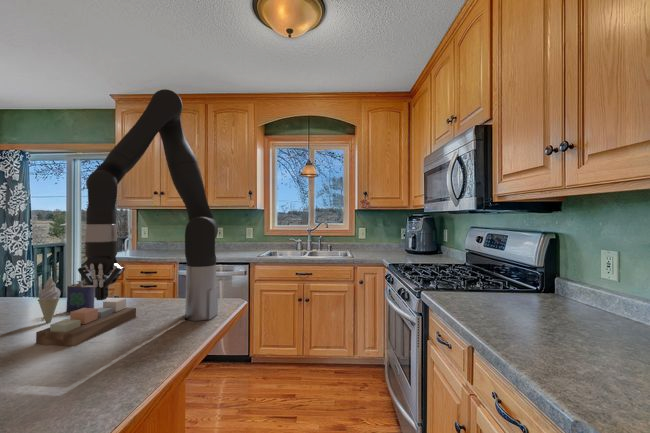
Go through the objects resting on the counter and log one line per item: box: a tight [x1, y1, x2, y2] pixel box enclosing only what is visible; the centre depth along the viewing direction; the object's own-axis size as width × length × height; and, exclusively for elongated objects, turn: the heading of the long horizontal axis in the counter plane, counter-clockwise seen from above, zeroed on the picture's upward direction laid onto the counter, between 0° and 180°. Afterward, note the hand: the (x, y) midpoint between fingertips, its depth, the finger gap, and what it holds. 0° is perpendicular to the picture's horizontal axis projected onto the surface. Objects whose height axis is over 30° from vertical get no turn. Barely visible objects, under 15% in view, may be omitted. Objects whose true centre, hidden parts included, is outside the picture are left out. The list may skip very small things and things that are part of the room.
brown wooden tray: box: [34, 306, 139, 348], centre depth 87 cm, size 11×23×4 cm, turn 175°
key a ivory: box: [102, 297, 127, 312], centre depth 95 cm, size 4×4×3 cm
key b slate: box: [98, 307, 113, 318], centre depth 90 cm, size 4×4×3 cm
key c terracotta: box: [69, 307, 99, 324], centre depth 84 cm, size 4×4×3 cm
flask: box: [65, 280, 95, 313], centre depth 106 cm, size 9×3×11 cm, turn 88°
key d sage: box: [49, 318, 81, 333], centre depth 79 cm, size 4×4×3 cm
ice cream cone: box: [37, 275, 61, 324], centre depth 92 cm, size 5×5×15 cm
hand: (101, 299), depth 90 cm, fingers closed
